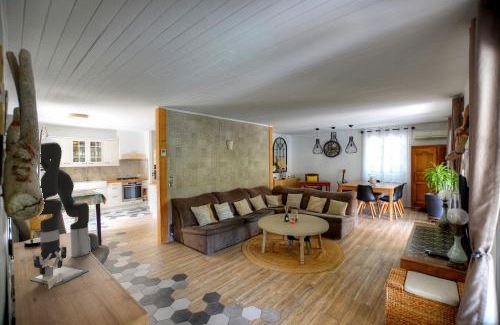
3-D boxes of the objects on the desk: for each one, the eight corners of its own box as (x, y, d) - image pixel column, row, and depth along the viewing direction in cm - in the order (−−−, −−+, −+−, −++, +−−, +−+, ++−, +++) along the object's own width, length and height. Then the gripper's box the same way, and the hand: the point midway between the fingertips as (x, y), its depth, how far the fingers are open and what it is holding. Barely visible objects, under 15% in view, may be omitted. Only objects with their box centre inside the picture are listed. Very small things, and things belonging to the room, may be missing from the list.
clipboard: (64, 266, 134) (64, 263, 134) (88, 271, 127) (88, 268, 127) (29, 280, 119) (29, 276, 119) (55, 286, 112) (55, 283, 112)
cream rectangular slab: (55, 283, 115) (55, 276, 115) (56, 283, 115) (56, 275, 115) (48, 288, 110) (48, 281, 110) (50, 288, 110) (49, 281, 110)
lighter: (42, 277, 119) (41, 261, 119) (42, 276, 120) (41, 260, 120) (60, 272, 123) (59, 257, 123) (60, 271, 125) (59, 256, 125)
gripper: (60, 234, 129) (61, 264, 130) (28, 243, 116) (30, 276, 116) (69, 235, 127) (71, 265, 127) (38, 244, 113) (39, 278, 114)
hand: (51, 271), depth 122 cm, fingers closed on lighter, 7 cm apart
